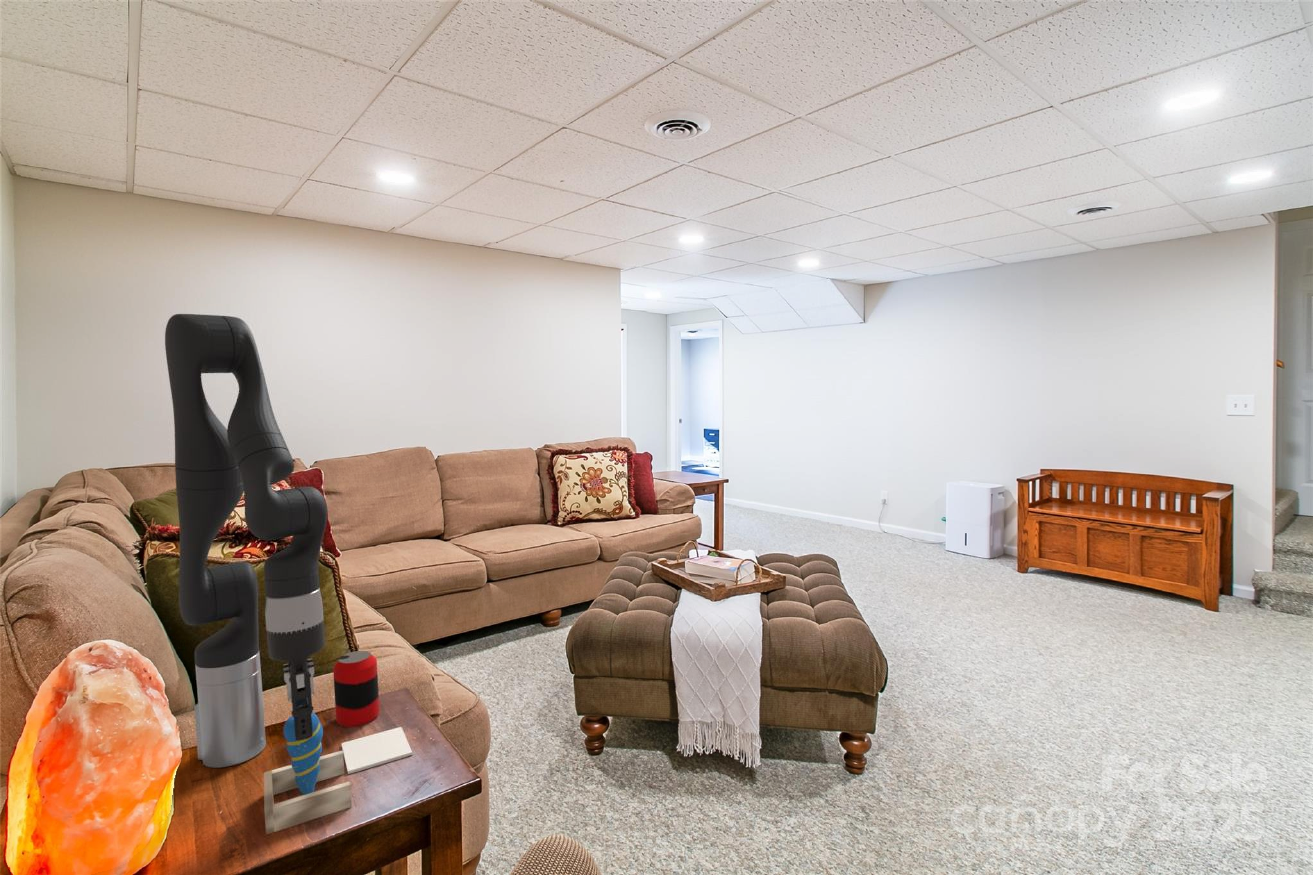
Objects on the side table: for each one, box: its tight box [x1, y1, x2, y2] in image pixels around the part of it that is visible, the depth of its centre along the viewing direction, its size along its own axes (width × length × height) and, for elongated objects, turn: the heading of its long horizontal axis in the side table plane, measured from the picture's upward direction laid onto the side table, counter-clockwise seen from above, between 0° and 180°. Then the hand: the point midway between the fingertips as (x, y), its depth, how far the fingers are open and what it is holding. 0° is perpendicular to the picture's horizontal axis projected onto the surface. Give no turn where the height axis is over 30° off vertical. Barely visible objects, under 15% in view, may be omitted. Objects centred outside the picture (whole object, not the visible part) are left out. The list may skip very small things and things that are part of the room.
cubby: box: [263, 750, 352, 835], centre depth 98 cm, size 11×11×4 cm
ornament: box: [282, 711, 324, 796], centre depth 98 cm, size 5×5×15 cm
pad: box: [341, 726, 413, 775], centre depth 111 cm, size 10×10×1 cm
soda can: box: [332, 650, 380, 728], centre depth 123 cm, size 8×8×12 cm
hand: (302, 726), depth 97 cm, fingers open, 8 cm apart
